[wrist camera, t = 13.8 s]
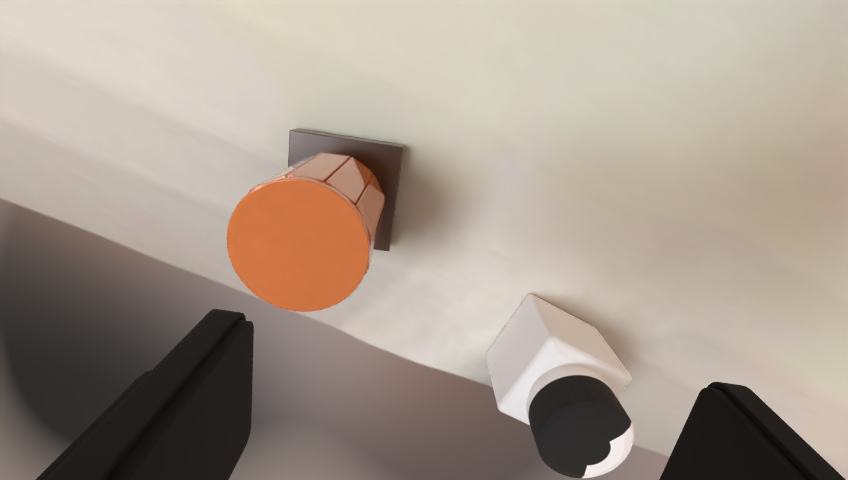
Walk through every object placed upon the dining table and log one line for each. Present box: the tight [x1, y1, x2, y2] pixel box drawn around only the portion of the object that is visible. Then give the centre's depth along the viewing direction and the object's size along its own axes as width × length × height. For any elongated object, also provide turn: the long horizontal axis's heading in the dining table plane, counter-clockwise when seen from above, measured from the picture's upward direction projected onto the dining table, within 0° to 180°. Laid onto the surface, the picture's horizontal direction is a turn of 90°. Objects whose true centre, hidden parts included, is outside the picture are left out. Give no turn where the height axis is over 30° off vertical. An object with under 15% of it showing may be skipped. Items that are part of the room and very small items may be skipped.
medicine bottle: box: [486, 294, 634, 478], centre depth 32 cm, size 7×7×12 cm
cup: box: [227, 152, 385, 312], centre depth 25 cm, size 7×7×8 cm
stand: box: [288, 129, 404, 251], centre depth 27 cm, size 8×8×13 cm
